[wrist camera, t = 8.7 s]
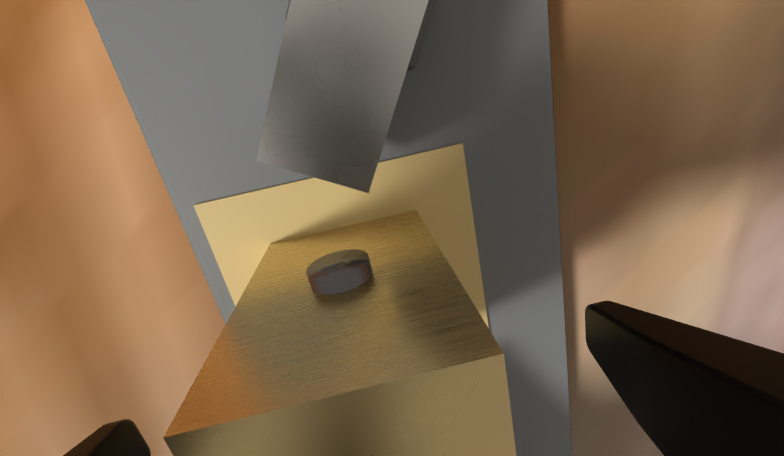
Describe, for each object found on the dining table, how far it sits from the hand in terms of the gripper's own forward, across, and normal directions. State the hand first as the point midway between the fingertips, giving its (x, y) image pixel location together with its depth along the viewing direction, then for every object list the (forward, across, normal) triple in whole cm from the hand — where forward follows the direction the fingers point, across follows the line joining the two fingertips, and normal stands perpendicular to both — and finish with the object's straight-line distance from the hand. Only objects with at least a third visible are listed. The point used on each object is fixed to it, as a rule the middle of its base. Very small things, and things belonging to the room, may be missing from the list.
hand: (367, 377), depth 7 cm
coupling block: (+4, 0, 0) cm, 4 cm away
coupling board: (+4, -1, 0) cm, 5 cm away
